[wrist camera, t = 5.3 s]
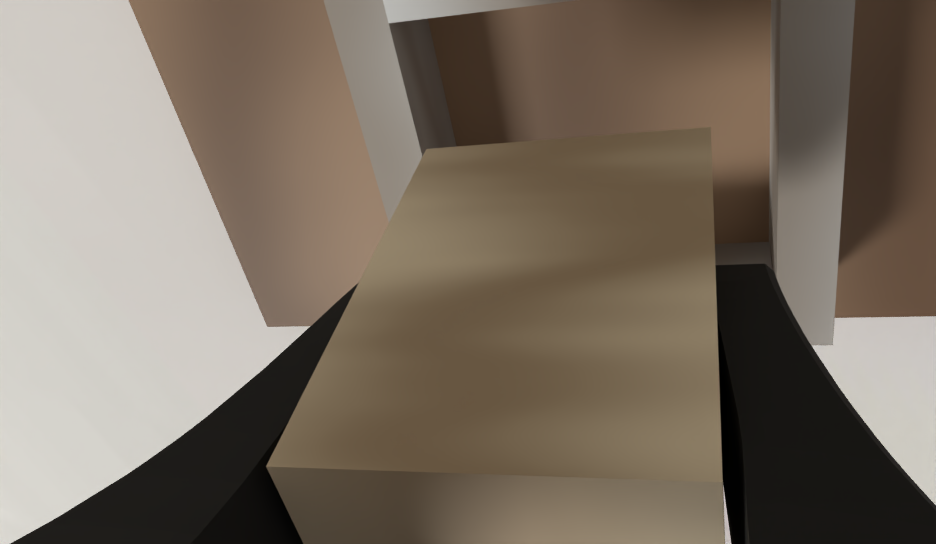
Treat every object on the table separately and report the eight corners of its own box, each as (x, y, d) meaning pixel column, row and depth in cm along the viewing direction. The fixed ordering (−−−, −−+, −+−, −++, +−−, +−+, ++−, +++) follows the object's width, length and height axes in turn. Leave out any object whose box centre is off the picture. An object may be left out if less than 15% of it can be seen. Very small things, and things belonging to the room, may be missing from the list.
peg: (710, 126, 11) (722, 481, 7) (718, 352, 14) (731, 735, 9) (426, 148, 12) (265, 466, 8) (477, 353, 15) (377, 694, 10)
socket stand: (1232, -300, 12) (1365, -279, 9) (1077, 282, 17) (1136, 385, 15) (121, -97, 17) (28, -50, 14) (282, 302, 22) (233, 381, 20)
